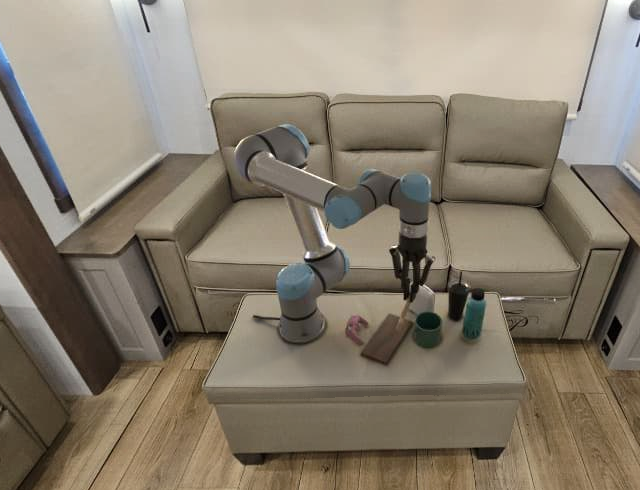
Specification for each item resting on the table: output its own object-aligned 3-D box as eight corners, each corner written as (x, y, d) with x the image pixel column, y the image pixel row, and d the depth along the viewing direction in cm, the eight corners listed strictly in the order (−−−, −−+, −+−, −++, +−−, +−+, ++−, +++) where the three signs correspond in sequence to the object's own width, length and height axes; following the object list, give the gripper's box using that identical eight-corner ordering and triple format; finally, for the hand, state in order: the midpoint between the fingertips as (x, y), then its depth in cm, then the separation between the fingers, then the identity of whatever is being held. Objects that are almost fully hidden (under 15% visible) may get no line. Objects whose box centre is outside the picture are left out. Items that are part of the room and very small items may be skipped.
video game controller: (359, 325, 148) (349, 311, 145) (370, 323, 147) (360, 308, 143) (350, 346, 141) (340, 331, 137) (362, 344, 139) (352, 329, 136)
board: (361, 354, 136) (361, 352, 135) (389, 315, 151) (389, 313, 150) (386, 364, 133) (386, 362, 132) (412, 323, 148) (412, 321, 147)
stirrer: (402, 304, 134) (394, 331, 123) (417, 272, 127) (410, 298, 116) (406, 306, 134) (399, 333, 123) (421, 274, 127) (415, 299, 116)
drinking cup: (465, 324, 148) (472, 280, 136) (443, 321, 149) (448, 277, 137) (466, 310, 154) (473, 266, 142) (445, 306, 155) (450, 263, 143)
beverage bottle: (458, 339, 142) (464, 294, 130) (464, 326, 147) (471, 282, 135) (477, 346, 140) (485, 301, 128) (482, 332, 145) (491, 288, 133)
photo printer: (406, 308, 154) (407, 281, 147) (414, 302, 156) (415, 276, 149) (427, 322, 148) (429, 296, 141) (435, 316, 151) (437, 290, 143)
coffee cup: (409, 341, 141) (410, 325, 136) (420, 324, 148) (421, 308, 143) (434, 351, 138) (436, 334, 133) (444, 332, 144) (446, 316, 140)
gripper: (382, 231, 111) (382, 298, 125) (433, 246, 106) (427, 314, 120) (394, 218, 116) (393, 284, 130) (444, 232, 111) (436, 298, 125)
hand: (409, 298), depth 125 cm, fingers closed on stirrer
